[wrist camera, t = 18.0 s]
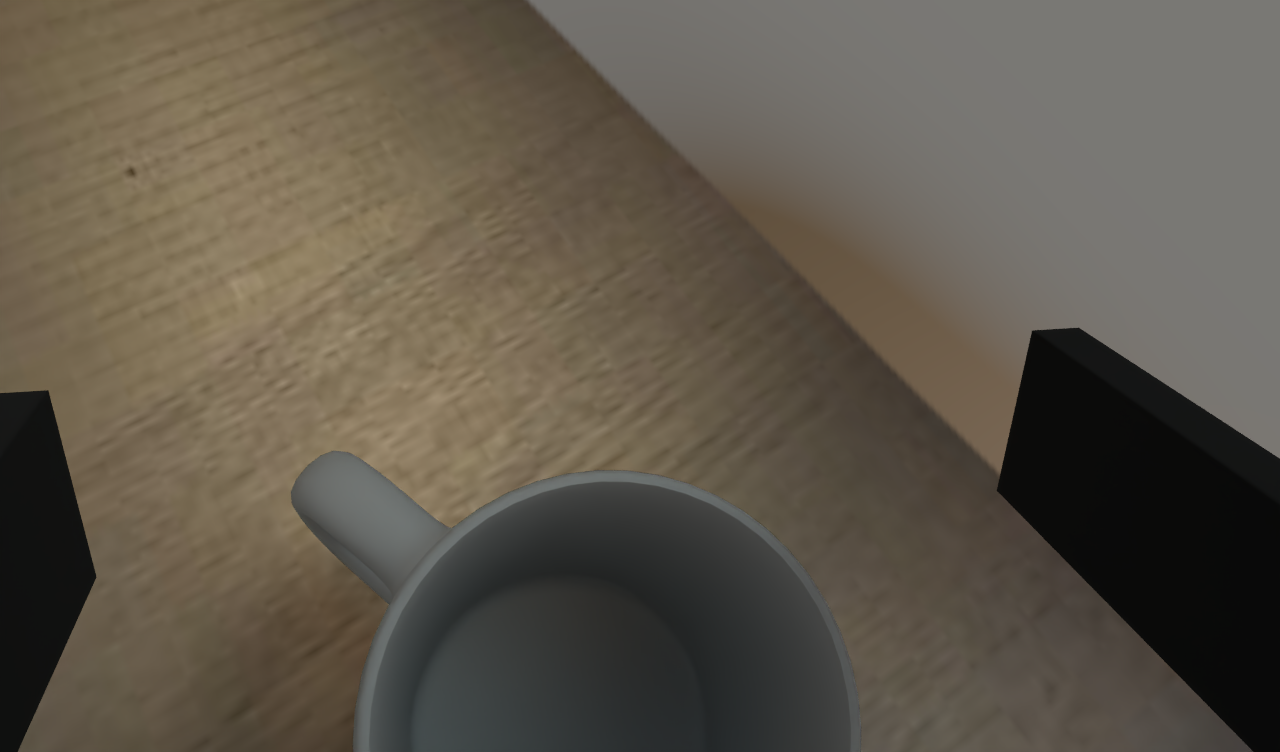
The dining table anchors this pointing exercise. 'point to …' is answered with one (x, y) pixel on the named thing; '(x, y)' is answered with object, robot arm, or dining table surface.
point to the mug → (583, 620)
